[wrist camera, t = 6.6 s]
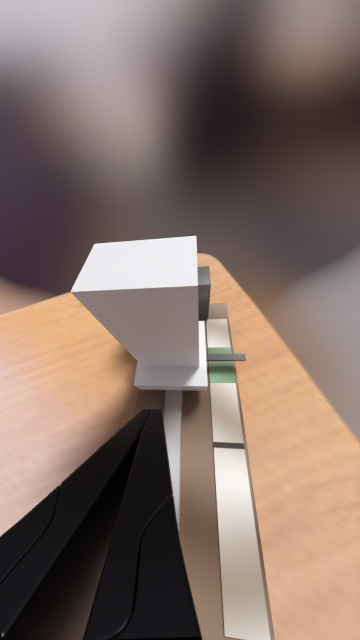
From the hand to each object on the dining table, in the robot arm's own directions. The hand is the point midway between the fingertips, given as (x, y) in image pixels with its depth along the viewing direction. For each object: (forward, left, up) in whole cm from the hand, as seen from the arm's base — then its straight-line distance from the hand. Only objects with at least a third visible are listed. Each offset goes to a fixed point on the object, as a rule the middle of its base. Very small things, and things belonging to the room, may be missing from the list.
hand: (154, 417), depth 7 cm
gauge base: (+1, -1, -8) cm, 8 cm away
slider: (+4, -2, -5) cm, 7 cm away
